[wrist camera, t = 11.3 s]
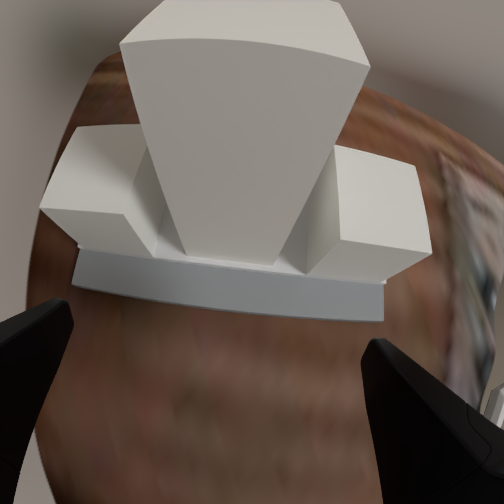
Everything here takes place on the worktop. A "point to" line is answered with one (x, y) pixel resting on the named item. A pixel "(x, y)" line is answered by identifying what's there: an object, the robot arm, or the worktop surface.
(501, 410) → the gun
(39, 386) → the robot arm
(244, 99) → the block
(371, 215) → the board
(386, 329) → the worktop surface
